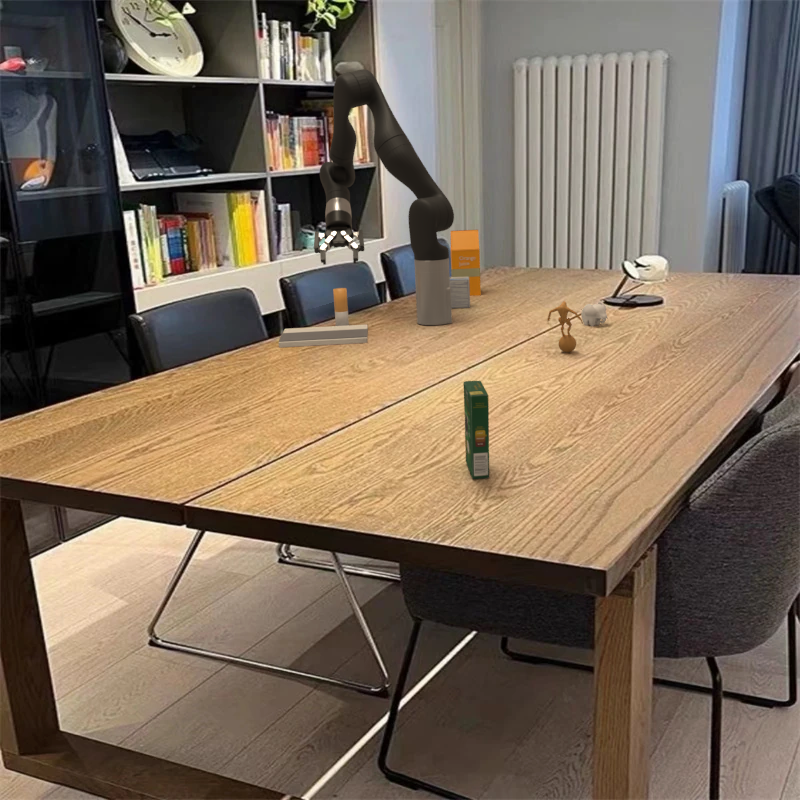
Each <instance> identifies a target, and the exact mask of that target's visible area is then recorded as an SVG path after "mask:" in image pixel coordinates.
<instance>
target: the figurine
mask: <svg viewBox="0 0 800 800" xmlns="http://www.w3.org/2000/svg"><path fill="white" fill-rule="evenodd" d="M555 312H557V314H558V315H559V317H558V322H559V324H560V325H561V327H560V332H561V337H560V339H559V340H558V347H559V349H560V350H561V351H562V352H563V353H571V352H573V351H574V350H575V349H576V347H577V340H576V338H575V337H574V336H573V335H572V334H571V333H570V331H571V328H572V325H573V324H572V322H571V318H570V317H568V314H569V313H570V314H574V315H575V316H576V318H577V319H579V321H581V324H583V325H584V323H583V320H582V317H581V316H580V315H578V313H577V312H576V311H574V310H572V309H571V308H569V307H568V306H567V302H566V301H562V302H561V304H560V305H558V306H557V307H555V308H552V309H551V310H550V311H549V312H548V316H547V322H550V320H551V315H552V313H555ZM565 323H566V325H567V326H568V327H567V329H566V330H567V331H566V332H567V334H566V333H565V332H564V330H565Z"/></svg>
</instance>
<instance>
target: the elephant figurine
mask: <svg viewBox="0 0 800 800" xmlns="http://www.w3.org/2000/svg"><path fill="white" fill-rule="evenodd" d="M580 310H581V315H580V317H581V319H582V322H583V325H584V326H588V325H589V326H591V327H595V326H599V325H600V324H604V323H605V322H607V319H609V318H608V315H607V308H606V304H605V303H604V302H603V301H601V300H599V301H598V302H597V303H594V304H591V303H586V304H585V306H583V308H582V309H580Z"/></svg>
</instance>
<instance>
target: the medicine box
mask: <svg viewBox="0 0 800 800" xmlns="http://www.w3.org/2000/svg"><path fill="white" fill-rule="evenodd" d="M450 288H451V309H467V308H468V309H470V307H471V296H470V285H469V277H452V276H450Z"/></svg>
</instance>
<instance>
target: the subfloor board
mask: <svg viewBox="0 0 800 800" xmlns="http://www.w3.org/2000/svg"><path fill="white" fill-rule="evenodd" d="M368 329H369V328H368V324H349V325H347V326H336V325H335V326H334V325H332V326H314V327H312V326H311V327H310V326H309V327H293V328H292V327H291V328H284V330H283V332H282V334H281V335H280V338H279V340H278V347H279V348H293V347H296V348H297V347H309V346H310V347H312V346H328V345H329V346H331V345H351V344H367V343H368V339H369V338H368V334H369V330H368Z"/></svg>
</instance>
